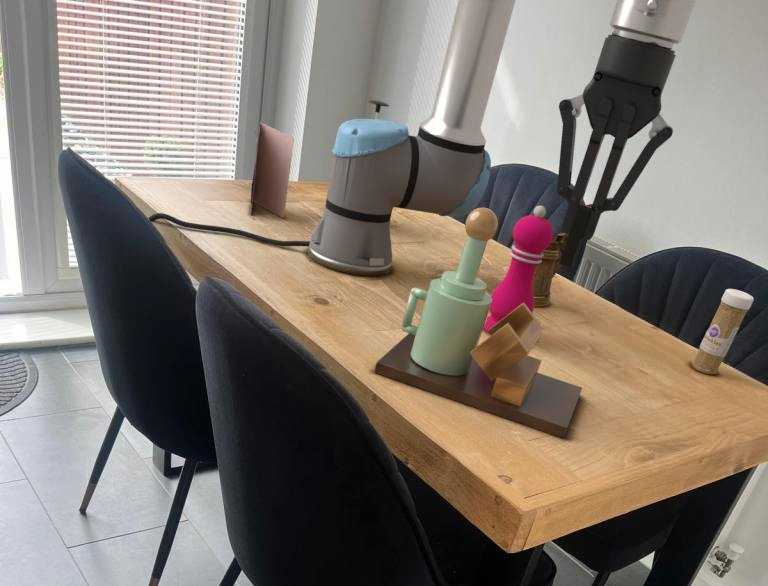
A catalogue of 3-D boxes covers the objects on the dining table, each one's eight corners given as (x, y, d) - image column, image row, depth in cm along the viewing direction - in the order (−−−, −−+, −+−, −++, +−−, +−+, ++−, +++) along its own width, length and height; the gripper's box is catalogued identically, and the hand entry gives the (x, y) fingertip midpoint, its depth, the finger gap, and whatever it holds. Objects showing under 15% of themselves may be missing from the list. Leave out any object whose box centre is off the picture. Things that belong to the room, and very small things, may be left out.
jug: (411, 393, 103) (361, 250, 96) (428, 373, 110) (384, 238, 103) (527, 365, 96) (484, 208, 88) (539, 346, 102) (499, 198, 95)
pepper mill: (527, 332, 126) (568, 208, 115) (520, 346, 120) (562, 216, 109) (486, 319, 127) (522, 195, 116) (477, 332, 121) (514, 202, 110)
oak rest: (460, 386, 99) (480, 316, 93) (480, 359, 108) (499, 294, 102) (519, 407, 97) (543, 337, 92) (535, 378, 106) (557, 313, 101)
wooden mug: (576, 309, 142) (612, 211, 132) (516, 305, 137) (548, 202, 127) (551, 291, 149) (583, 196, 139) (493, 287, 143) (522, 187, 133)
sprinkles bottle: (686, 365, 129) (721, 288, 121) (697, 362, 132) (733, 286, 124) (710, 377, 126) (748, 299, 119) (721, 373, 129) (759, 297, 122)
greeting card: (248, 199, 159) (255, 121, 150) (283, 206, 160) (293, 129, 152) (246, 214, 149) (254, 131, 141) (283, 221, 151) (294, 139, 143)
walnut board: (374, 372, 100) (376, 362, 99) (409, 339, 112) (411, 330, 112) (563, 438, 96) (567, 428, 95) (578, 396, 108) (582, 387, 107)
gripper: (577, 23, 77) (509, 253, 90) (705, 54, 75) (616, 286, 88) (586, 26, 83) (521, 242, 96) (704, 55, 81) (621, 272, 94)
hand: (566, 263), depth 92 cm, fingers closed
